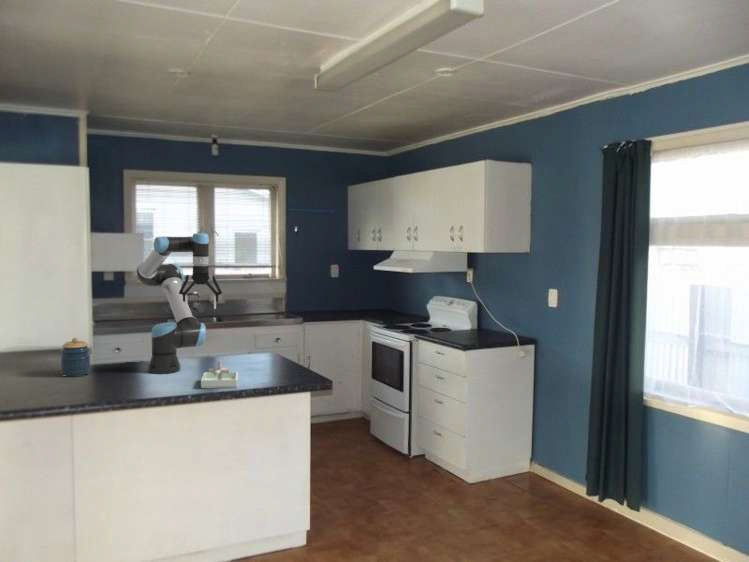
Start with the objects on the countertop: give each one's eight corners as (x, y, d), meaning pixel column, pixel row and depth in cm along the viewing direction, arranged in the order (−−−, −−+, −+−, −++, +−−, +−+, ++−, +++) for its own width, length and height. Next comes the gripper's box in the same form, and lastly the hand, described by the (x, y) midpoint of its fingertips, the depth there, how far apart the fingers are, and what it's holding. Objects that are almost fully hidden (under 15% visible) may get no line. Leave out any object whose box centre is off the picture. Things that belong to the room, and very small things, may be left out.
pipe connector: (225, 384, 289) (225, 362, 288) (204, 383, 291) (204, 362, 290) (234, 380, 299) (234, 358, 298) (214, 379, 301) (214, 358, 300)
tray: (200, 388, 286) (200, 380, 286) (204, 380, 301) (204, 372, 301) (236, 388, 289) (236, 379, 288) (238, 379, 304) (238, 371, 304)
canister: (54, 375, 303) (53, 338, 302) (75, 370, 315) (75, 334, 314) (75, 378, 299) (75, 341, 297) (96, 372, 311) (96, 336, 309)
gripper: (172, 265, 306) (173, 309, 308) (226, 266, 310) (226, 309, 312) (175, 264, 314) (175, 307, 315) (227, 265, 318) (227, 307, 320)
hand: (200, 308), depth 314 cm, fingers open, 13 cm apart
